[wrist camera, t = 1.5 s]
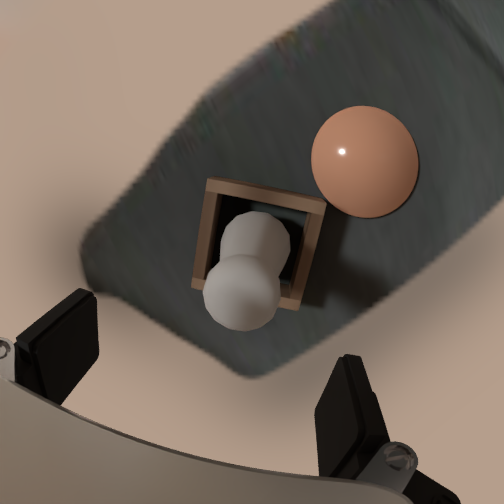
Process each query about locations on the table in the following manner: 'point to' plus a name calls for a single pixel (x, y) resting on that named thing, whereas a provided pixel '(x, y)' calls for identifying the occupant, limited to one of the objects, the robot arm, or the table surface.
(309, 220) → the square wooden frame
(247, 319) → the salt shaker
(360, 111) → the orange round disc
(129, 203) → the table surface
